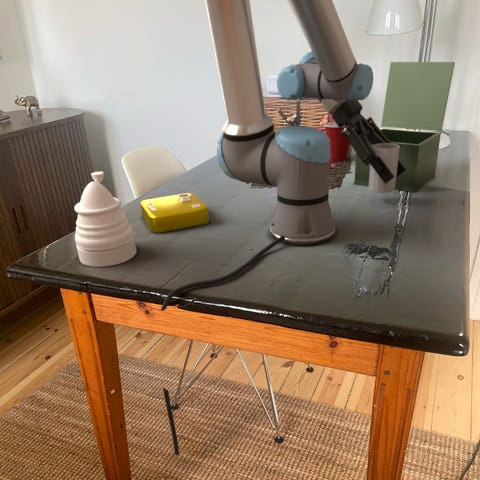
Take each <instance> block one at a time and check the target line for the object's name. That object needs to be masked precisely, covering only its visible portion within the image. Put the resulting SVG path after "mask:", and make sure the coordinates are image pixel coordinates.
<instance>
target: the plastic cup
mask: <svg viewBox="0 0 480 480" xmlns="http://www.w3.org/2000/svg"><path fill="white" fill-rule="evenodd" d="M323 127H324V129H325V130H324V131H325V134H326V135H327V136H328V137H329V140H330V153H331V159H330V161H332V162H343V161H347V159H348V157H349V151H350V149H351V148H350V147H351V144H350V143H349V141H348V140H347V139H346V137H345V136H344V135H343V134H342V131H343V130H344V129H345V126H343V127H339V126H338V125H337V124H336V123H335V122H327V123H324V124H323Z"/></svg>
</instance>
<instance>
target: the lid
mask: <svg viewBox="0 0 480 480" xmlns="http://www.w3.org/2000/svg"><path fill="white" fill-rule="evenodd" d="M455 65H456V62H455V61H390V64H389V70H388V78H387V84H386V90H385V98H384V103H383V104H384V105H383V110H382V118H381V124H380V127H381V128H385V127H386V128H393V129H407V130H420V131H434V132H442V131H443V126H444V121H445V117H446V116H445V115H446V112H447V111H446V110H447V105H448V101H449V95H450V89H451V85H452V79H453V75H454V70H455Z"/></svg>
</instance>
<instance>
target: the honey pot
mask: <svg viewBox="0 0 480 480" xmlns="http://www.w3.org/2000/svg"><path fill="white" fill-rule="evenodd" d="M104 174H105V173H104V171H94V172H92V173H91V174H90V175H91V178H92V179H93V181H91V182H89V183H88V184H87V185H86V186H85V187H84V190H83V192H82V194H81V197H80V201H79V202H77V203H76V204H75V205H74V212H76V213H77V219H76V221H75V225H76V227H75V233H74V242H75V245H76V251H77V254H78V259H79V261H80V263H81V264H82V265H85V266H88V267H96V268H97V267H98V268H100V267H110V266H117V265H119V264H122V263H125V262H127V261H129V260H131V259H133V258H134V256H135V255H136V254H137V252H138V251H137V245H136V240H135V235H134V230H133V227H132V225H131V224H130V223H129V219H127V217H126V214H125V213H124V212H123V210H122V208H121V206H122V201H121V200H120V198H118V197H114V196H113V194H112V193H111V192H110V191H109V190H108V188H106V186H105V185H103V184H102V183H101V182H102V181H103V180H104V176H105V175H104Z"/></svg>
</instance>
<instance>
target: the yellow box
mask: <svg viewBox="0 0 480 480" xmlns="http://www.w3.org/2000/svg"><path fill="white" fill-rule="evenodd" d="M140 209H141V215H142V219H143V220H144V222H145V223H146V225H147V226H148V227H149V229H150V231H151V232H152V233H155V234H161V233H167V232H172V231H173V232H174V231H178V230H183V229H188V228H193V227H198V226H205V225H207V224H208V223H209V221H210V217H209V207H208V205H207V204H206V203H205V202H204V201H203V200H201V199H200V197H199V196H197V194H195V193H193V192H184V193H179V194H173V195H167V196H161V197H160V196H159V197H154V198H150V199H143V200H142V201H140Z"/></svg>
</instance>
